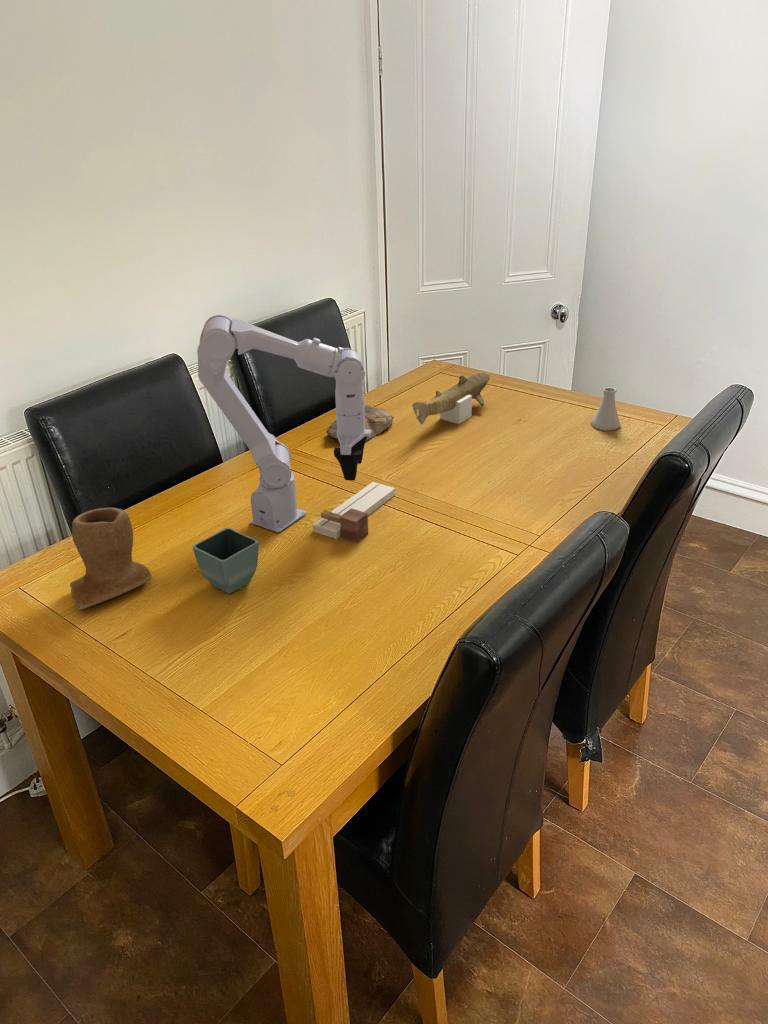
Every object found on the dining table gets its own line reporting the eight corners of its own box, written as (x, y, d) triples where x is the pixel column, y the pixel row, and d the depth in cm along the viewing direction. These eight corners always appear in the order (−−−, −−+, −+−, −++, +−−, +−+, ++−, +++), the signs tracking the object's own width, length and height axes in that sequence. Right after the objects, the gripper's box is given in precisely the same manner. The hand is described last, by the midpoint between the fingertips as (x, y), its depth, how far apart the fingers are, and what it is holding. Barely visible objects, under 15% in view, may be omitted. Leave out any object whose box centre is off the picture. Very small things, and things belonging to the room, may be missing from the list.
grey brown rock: (353, 452, 200) (401, 424, 214) (352, 434, 198) (400, 406, 211) (311, 440, 208) (360, 413, 221) (309, 422, 206) (358, 396, 219)
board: (336, 539, 164) (336, 532, 163) (313, 531, 167) (312, 524, 166) (395, 494, 180) (395, 487, 179) (373, 487, 183) (372, 481, 182)
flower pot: (233, 565, 157) (227, 526, 152) (264, 581, 152) (259, 540, 148) (197, 586, 151) (190, 546, 147) (229, 603, 146) (222, 562, 142)
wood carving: (398, 439, 205) (398, 398, 199) (471, 396, 229) (472, 358, 223) (428, 448, 200) (428, 406, 195) (499, 402, 224) (501, 364, 219)
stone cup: (133, 559, 160) (118, 493, 152) (160, 585, 152) (146, 516, 144) (57, 589, 152) (37, 520, 144) (81, 618, 143) (62, 547, 136)
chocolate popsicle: (357, 543, 163) (356, 521, 160) (317, 529, 168) (316, 509, 165) (368, 534, 166) (367, 513, 163) (329, 521, 171) (327, 500, 168)
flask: (585, 423, 211) (589, 387, 206) (607, 418, 213) (612, 382, 208) (603, 433, 205) (607, 396, 200) (625, 428, 208) (630, 391, 203)
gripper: (364, 426, 156) (366, 488, 163) (375, 397, 168) (377, 456, 175) (328, 424, 157) (332, 486, 163) (342, 396, 169) (345, 455, 176)
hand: (353, 471), depth 169 cm, fingers open, 7 cm apart
